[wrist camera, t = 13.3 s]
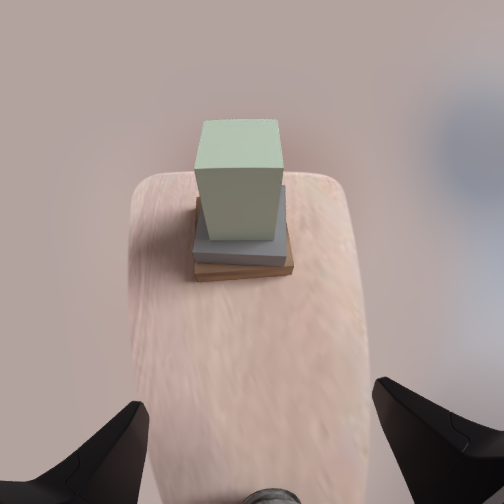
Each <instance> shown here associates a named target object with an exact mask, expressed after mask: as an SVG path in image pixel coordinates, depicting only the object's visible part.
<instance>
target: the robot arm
mask: <svg viewBox="0 0 504 504" xmlns="http://www.w3.org/2000/svg"><path fill="white" fill-rule="evenodd" d="M372 398H373V402H374V405H375V407H376V411H377V414H378V417H379V420H380V423H381V426H382V429H383V431H384V433H385V435H386V438H387V440H388V442H389V444H390V447H391V449H392V451H393V453H394V456H395V458H396V460H397V463H398V465H399V467H400V470H401V472H402V474H403V476H404V479H405V481H406V484H407V486H408V488H409V491H410V493H411V496H412V498H413V500H414V504H504V431H499V430H495V429H492V428H489V427H486V426H483V425H480V424H477V423H475V422H472V421H470V420H467V419H465V418H463V417H461V416H459V415H456V414H454V413H453V412H450V411H449V410H447V409H445V408H443V407H441V406H439V405H437V404H435V403H433V402H432V401H430V400H428V399H426V398H424V397H422V396H420V395H419V394H417V393H415V392H413V391H411V390H409V389H408V388H405V387H404V386H402V385H400V384H399V383H397V382H395V381H393V380H391V379H390V378H388V377H381V378H378V379H376V381H375V384H374V387H373V391H372ZM148 429H149V414H148V412H147V410H146V408H145V406H144V404H143V403H142V402H141V401H132V402H130V403H129V404H128V405H127V406H126V407H125V408H124V409H122V410H121V411H120V412H119V413H118V414H117V415H116V416H115V417H113V418H112V419H111V420H110V421H109V422H108V423H107V424H106V425H105V426H103V427H102V428H101V429H100V430H99V431H98V432H97V433H96V434H94V435H93V436H92V437H91V438H90V439H89V440H87V441H86V442H85V443H84V444H83V445H82V446H81V447H79V448H78V450H76V451H75V452H73V453H72V454H71V455H70V456H68V457H67V458H66V459H65V460H64V461H62V462H61V463H59V464H58V465H56V466H55V467H54V468H52V469H50V470H49V471H47V472H46V473H44V474H42V475H41V476H39V477H37V478H36V479H34V480H31V481H26V482H17V481H16V482H14V481H0V504H137V502H138V495H139V490H140V484H141V478H142V473H143V468H144V462H145V457H146V452H147V442H148Z"/></svg>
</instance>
